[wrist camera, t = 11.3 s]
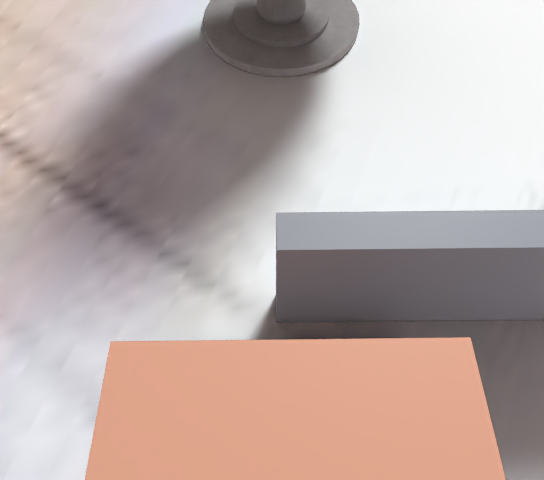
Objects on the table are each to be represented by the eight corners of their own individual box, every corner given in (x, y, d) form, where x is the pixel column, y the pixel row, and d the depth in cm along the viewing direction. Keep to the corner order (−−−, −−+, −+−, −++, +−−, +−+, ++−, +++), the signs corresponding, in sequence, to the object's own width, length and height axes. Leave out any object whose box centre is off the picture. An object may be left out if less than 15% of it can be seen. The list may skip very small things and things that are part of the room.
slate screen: (276, 322, 21) (276, 250, 14) (275, 294, 22) (276, 212, 15) (610, 319, 21) (779, 245, 14) (598, 291, 22) (753, 207, 15)
